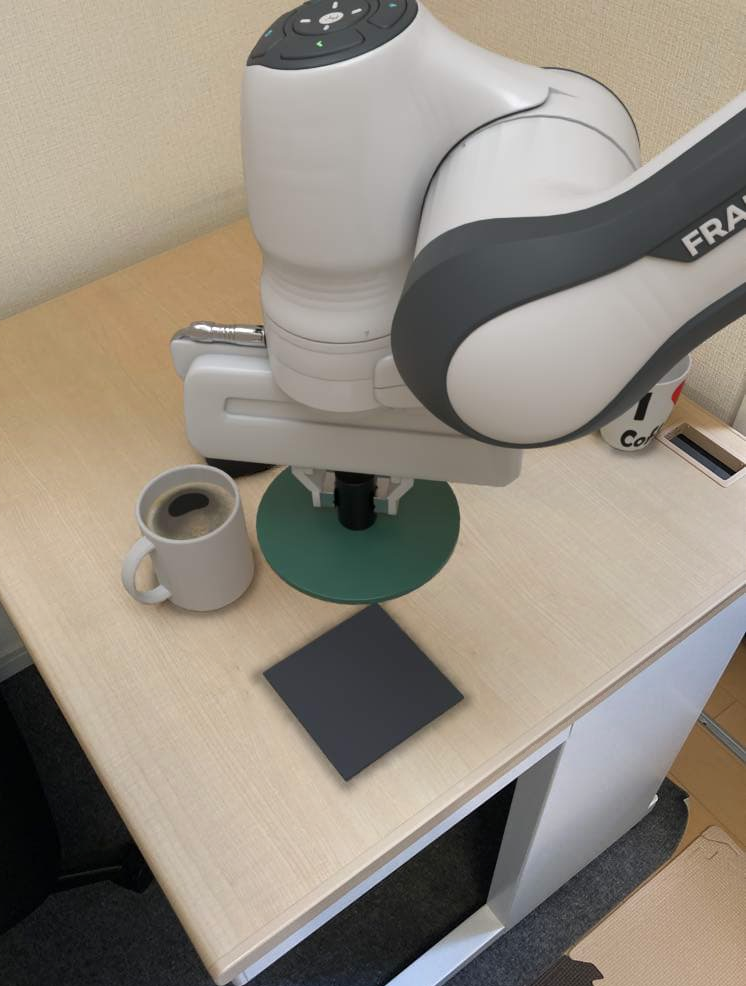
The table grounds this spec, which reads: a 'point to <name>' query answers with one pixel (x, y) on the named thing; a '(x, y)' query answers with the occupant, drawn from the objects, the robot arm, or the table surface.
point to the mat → (362, 689)
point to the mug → (191, 539)
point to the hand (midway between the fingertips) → (357, 503)
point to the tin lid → (356, 538)
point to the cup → (648, 411)
